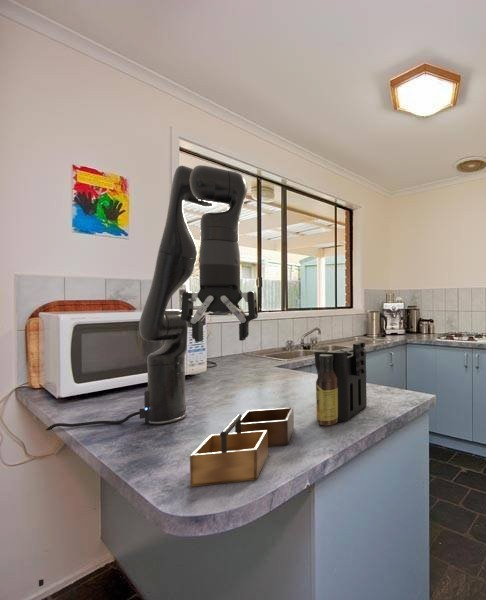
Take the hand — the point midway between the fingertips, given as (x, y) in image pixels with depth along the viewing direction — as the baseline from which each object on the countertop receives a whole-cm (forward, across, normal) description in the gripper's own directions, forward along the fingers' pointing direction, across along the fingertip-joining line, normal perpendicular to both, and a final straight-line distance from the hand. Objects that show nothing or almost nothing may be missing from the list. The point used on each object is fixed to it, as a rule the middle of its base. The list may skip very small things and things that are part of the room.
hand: (220, 340), depth 69 cm
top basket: (+27, -2, +1) cm, 27 cm away
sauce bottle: (+27, -21, -22) cm, 41 cm away
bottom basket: (+27, -6, -14) cm, 31 cm away
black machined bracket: (+27, -27, -30) cm, 49 cm away
